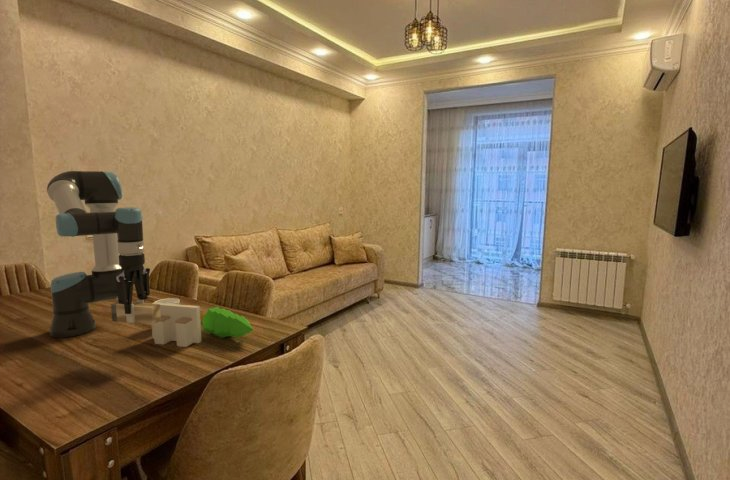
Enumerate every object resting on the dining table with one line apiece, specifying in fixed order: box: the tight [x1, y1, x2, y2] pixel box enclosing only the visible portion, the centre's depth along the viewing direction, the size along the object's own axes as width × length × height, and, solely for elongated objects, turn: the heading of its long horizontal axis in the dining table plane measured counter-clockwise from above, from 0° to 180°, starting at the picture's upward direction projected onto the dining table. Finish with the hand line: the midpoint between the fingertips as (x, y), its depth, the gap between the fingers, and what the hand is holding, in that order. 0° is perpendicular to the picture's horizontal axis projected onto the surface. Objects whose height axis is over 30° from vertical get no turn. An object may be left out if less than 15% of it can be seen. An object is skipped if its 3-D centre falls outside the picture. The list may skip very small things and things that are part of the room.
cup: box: [153, 297, 181, 305], centre depth 167 cm, size 10×10×11 cm
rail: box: [110, 301, 161, 326], centre depth 137 cm, size 4×16×6 cm, turn 78°
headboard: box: [151, 302, 202, 348], centre depth 151 cm, size 20×6×14 cm, turn 78°
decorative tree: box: [200, 306, 254, 339], centre depth 157 cm, size 11×12×30 cm
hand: (136, 319), depth 137 cm, fingers closed on rail, 4 cm apart
